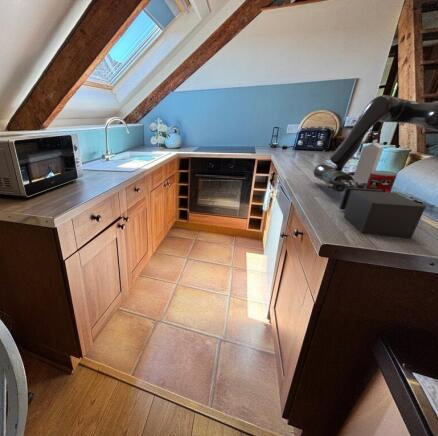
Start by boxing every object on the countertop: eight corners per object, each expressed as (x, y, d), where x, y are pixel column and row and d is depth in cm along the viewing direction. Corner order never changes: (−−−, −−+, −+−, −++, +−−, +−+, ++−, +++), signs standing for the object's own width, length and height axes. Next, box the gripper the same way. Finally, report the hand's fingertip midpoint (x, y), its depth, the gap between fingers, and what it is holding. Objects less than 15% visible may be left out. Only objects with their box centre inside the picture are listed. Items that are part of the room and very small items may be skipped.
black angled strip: (335, 204, 93) (341, 184, 90) (368, 207, 90) (375, 186, 87) (353, 220, 78) (361, 197, 75) (393, 224, 75) (403, 200, 72)
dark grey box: (343, 216, 84) (352, 190, 80) (385, 220, 80) (396, 192, 77) (361, 233, 72) (372, 202, 68) (411, 238, 68) (425, 206, 65)
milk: (350, 187, 118) (364, 139, 110) (354, 185, 122) (369, 139, 113) (365, 189, 114) (382, 140, 105) (370, 187, 117) (386, 139, 109)
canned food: (358, 197, 104) (366, 171, 100) (370, 194, 106) (378, 169, 102) (379, 202, 97) (389, 175, 93) (391, 199, 100) (401, 173, 95)
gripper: (323, 171, 105) (337, 180, 90) (360, 172, 101) (382, 182, 86) (318, 188, 108) (332, 199, 93) (354, 190, 104) (374, 202, 89)
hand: (356, 191), depth 89 cm, fingers closed
